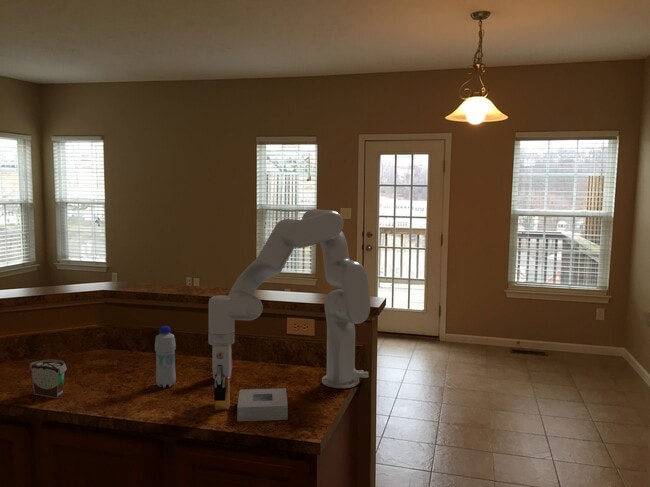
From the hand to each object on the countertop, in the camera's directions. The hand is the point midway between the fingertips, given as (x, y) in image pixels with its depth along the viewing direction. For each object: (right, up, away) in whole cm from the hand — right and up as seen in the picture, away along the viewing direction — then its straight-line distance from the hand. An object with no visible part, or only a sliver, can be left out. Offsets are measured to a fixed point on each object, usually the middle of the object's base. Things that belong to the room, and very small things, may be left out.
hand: (221, 394), depth 161 cm
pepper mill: (-5, -2, +26) cm, 27 cm away
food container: (-55, -3, +11) cm, 56 cm away
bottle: (-22, -2, +18) cm, 28 cm away
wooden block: (0, -4, +1) cm, 4 cm away
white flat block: (+13, -4, -2) cm, 13 cm away
